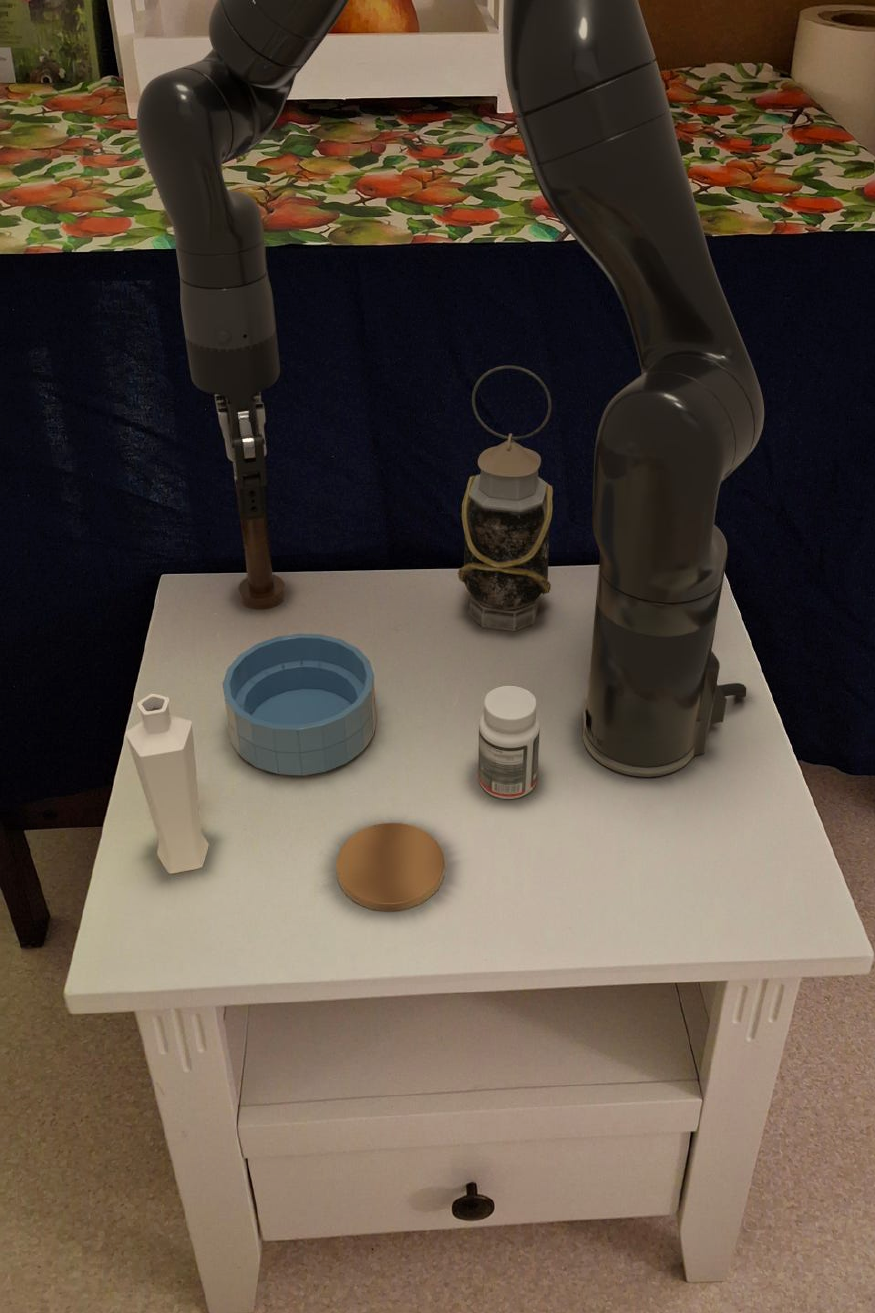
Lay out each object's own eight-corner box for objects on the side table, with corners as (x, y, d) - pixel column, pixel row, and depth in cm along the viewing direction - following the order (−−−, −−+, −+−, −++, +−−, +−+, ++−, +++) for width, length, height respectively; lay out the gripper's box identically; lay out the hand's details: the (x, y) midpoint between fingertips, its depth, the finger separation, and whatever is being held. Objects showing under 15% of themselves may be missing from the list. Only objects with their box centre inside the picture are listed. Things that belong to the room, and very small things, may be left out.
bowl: (361, 673, 109) (358, 624, 105) (388, 765, 99) (386, 715, 96) (223, 694, 106) (216, 645, 103) (238, 791, 97) (231, 740, 94)
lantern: (556, 592, 118) (572, 350, 102) (542, 642, 112) (557, 393, 96) (468, 581, 120) (470, 341, 104) (450, 630, 113) (449, 382, 98)
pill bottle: (507, 751, 101) (510, 673, 95) (549, 781, 98) (554, 702, 93) (465, 779, 98) (466, 700, 93) (507, 810, 95) (510, 730, 90)
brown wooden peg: (282, 580, 120) (267, 442, 111) (288, 606, 117) (273, 466, 107) (237, 586, 119) (218, 448, 110) (242, 612, 116) (223, 472, 106)
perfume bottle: (140, 868, 91) (104, 717, 82) (171, 828, 94) (140, 678, 85) (193, 885, 90) (164, 734, 80) (223, 844, 93) (198, 694, 83)
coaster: (430, 821, 94) (430, 814, 94) (456, 900, 88) (456, 892, 88) (328, 840, 93) (328, 832, 93) (347, 920, 87) (346, 913, 86)
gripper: (287, 357, 96) (303, 540, 107) (264, 289, 107) (282, 462, 118) (191, 367, 95) (217, 552, 105) (178, 297, 106) (203, 471, 116)
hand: (251, 503), depth 111 cm, fingers open, 3 cm apart
